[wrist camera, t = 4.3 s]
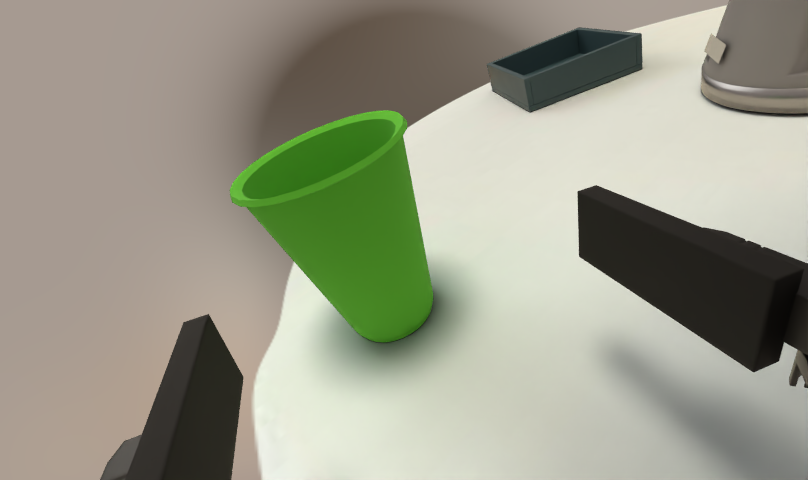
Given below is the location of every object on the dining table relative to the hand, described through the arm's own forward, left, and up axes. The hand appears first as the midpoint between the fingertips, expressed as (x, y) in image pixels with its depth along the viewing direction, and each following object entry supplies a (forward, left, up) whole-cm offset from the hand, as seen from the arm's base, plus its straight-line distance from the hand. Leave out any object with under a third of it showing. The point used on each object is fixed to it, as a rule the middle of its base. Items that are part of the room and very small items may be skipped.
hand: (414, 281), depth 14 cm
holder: (-22, -38, -8) cm, 45 cm away
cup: (+3, -8, -8) cm, 12 cm away
